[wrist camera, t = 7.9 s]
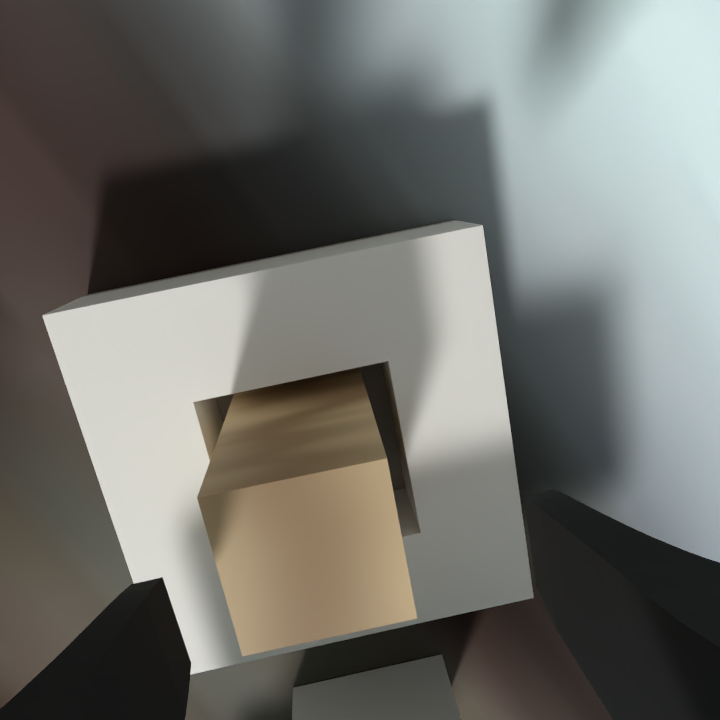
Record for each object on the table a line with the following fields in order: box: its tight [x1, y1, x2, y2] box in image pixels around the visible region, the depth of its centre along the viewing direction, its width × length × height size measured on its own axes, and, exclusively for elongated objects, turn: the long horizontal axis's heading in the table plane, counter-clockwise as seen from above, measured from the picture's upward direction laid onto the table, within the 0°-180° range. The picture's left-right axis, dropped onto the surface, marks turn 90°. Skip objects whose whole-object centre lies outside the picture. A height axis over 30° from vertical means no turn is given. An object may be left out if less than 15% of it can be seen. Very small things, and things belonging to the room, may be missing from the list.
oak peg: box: [197, 367, 417, 656], centre depth 17 cm, size 4×4×8 cm
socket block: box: [42, 220, 534, 674], centre depth 20 cm, size 12×12×4 cm
